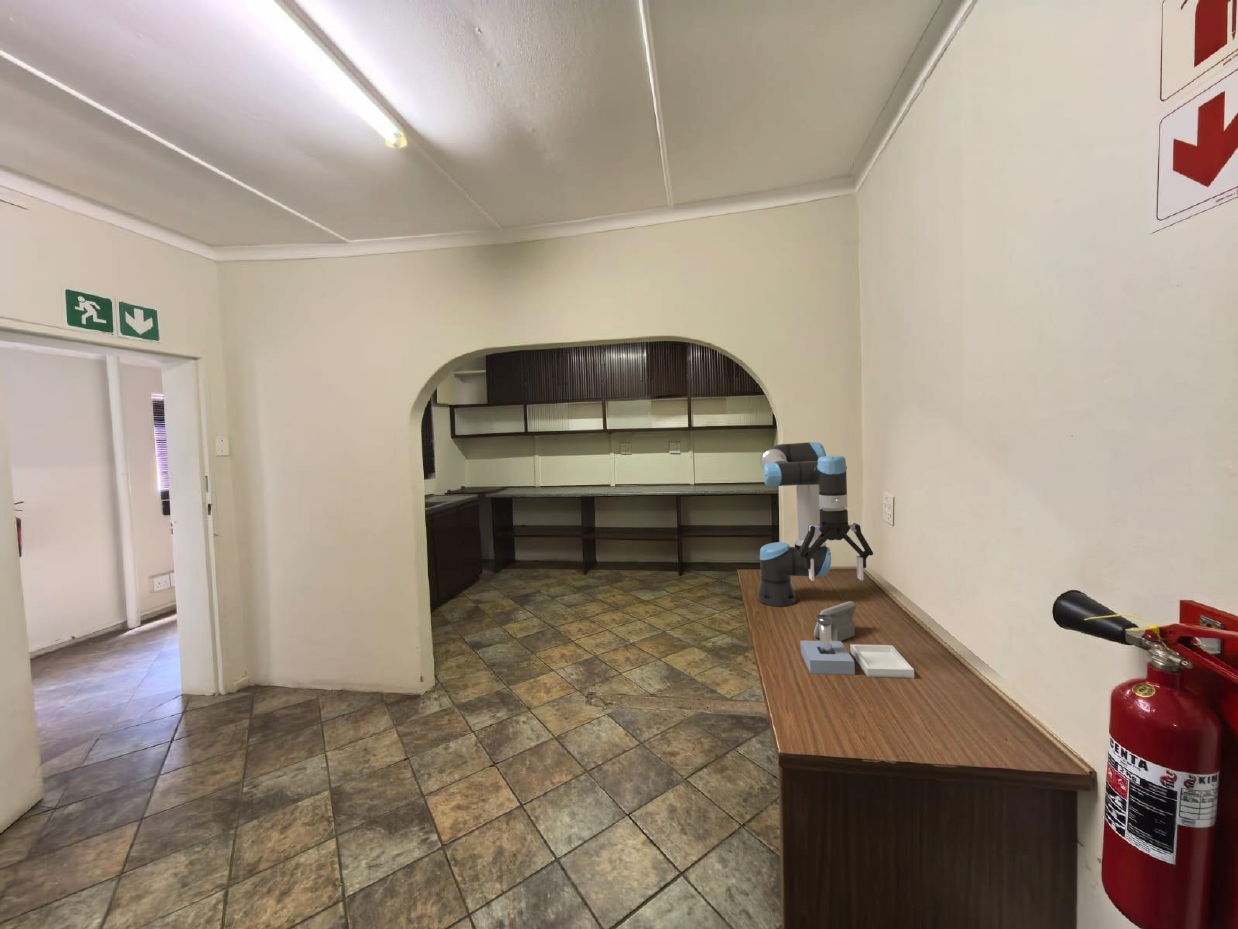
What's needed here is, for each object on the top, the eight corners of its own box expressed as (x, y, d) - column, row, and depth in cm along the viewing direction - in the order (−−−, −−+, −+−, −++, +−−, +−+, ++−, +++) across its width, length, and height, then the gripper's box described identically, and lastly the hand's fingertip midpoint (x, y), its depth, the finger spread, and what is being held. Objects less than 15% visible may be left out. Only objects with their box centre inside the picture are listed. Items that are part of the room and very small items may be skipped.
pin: (816, 659, 135) (815, 614, 134) (832, 659, 134) (830, 614, 133) (820, 666, 131) (819, 620, 130) (836, 667, 130) (834, 620, 129)
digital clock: (846, 625, 156) (845, 596, 155) (866, 636, 147) (865, 606, 146) (806, 633, 152) (805, 604, 151) (825, 645, 143) (823, 614, 142)
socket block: (800, 652, 140) (800, 640, 139) (841, 653, 137) (840, 641, 137) (810, 673, 128) (809, 660, 127) (854, 674, 126) (854, 661, 125)
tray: (850, 652, 138) (850, 644, 138) (892, 653, 136) (892, 645, 135) (867, 677, 124) (867, 668, 124) (914, 678, 122) (914, 669, 122)
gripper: (792, 512, 127) (795, 584, 128) (884, 508, 123) (886, 582, 125) (786, 508, 134) (789, 575, 136) (873, 504, 131) (875, 574, 132)
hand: (835, 579), depth 130 cm, fingers open, 13 cm apart
